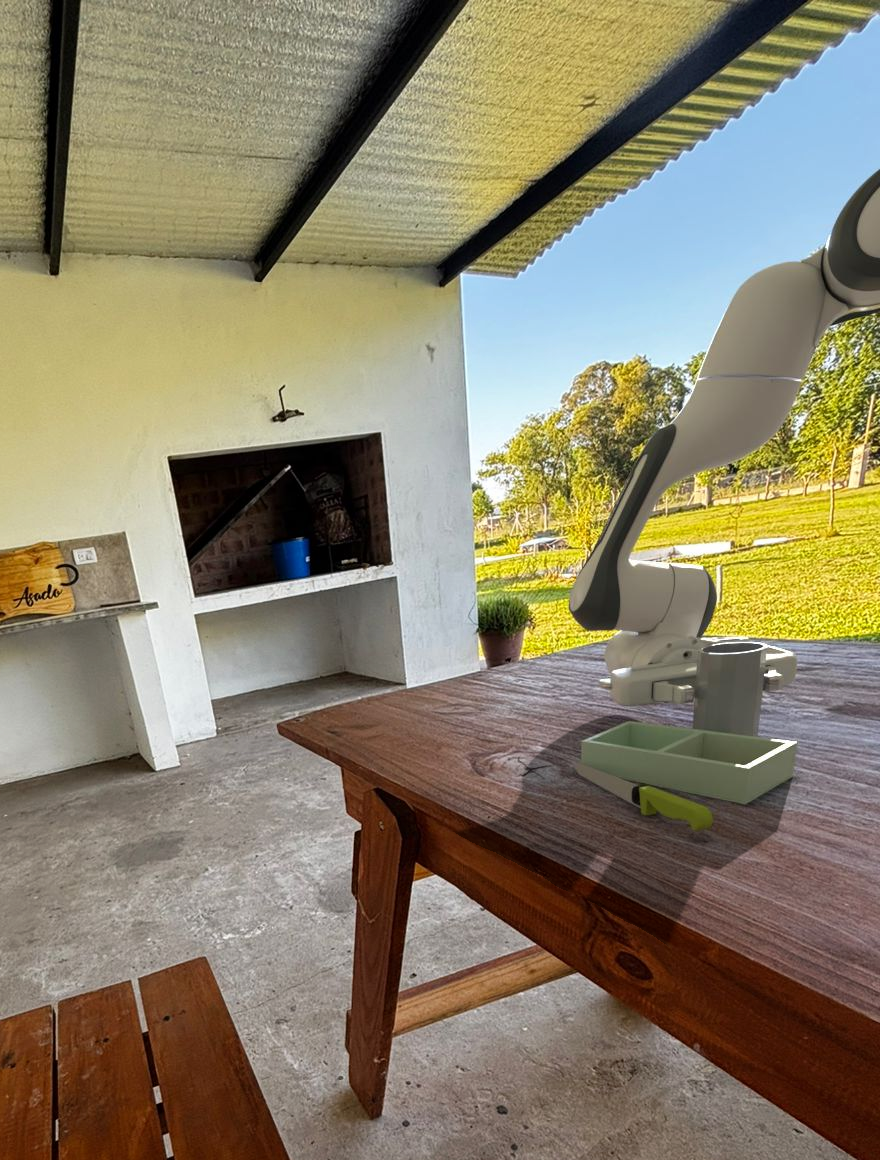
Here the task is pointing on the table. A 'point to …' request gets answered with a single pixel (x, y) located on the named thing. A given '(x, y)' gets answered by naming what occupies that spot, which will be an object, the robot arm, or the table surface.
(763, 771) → the divided tray
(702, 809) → the kitchen knife
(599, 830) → the table surface
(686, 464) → the robot arm
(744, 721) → the cutlery cup
